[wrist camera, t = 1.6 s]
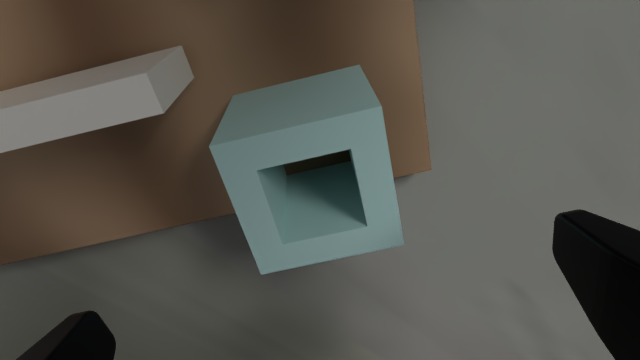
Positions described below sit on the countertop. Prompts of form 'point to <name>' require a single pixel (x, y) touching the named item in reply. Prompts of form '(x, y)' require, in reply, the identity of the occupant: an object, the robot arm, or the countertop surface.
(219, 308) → the countertop surface
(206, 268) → the countertop surface
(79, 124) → the white bent bar
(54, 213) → the board
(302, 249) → the teal hollow cube
